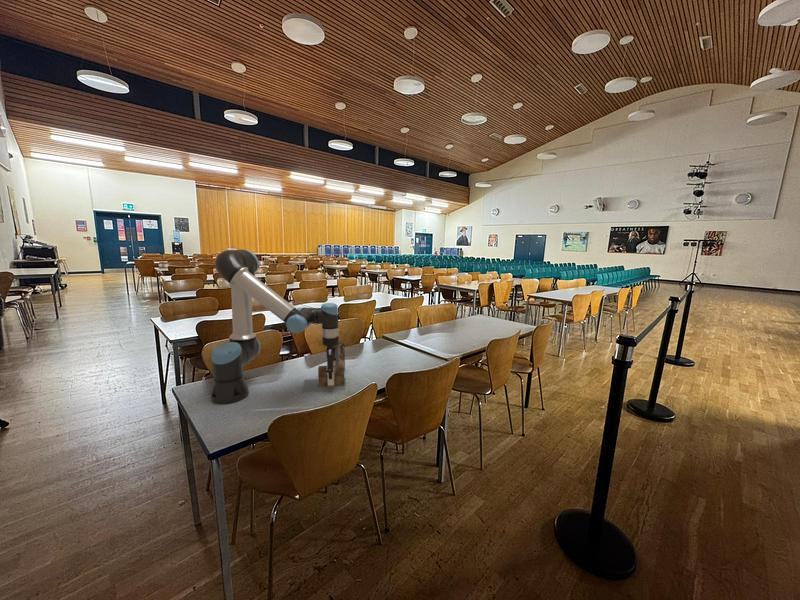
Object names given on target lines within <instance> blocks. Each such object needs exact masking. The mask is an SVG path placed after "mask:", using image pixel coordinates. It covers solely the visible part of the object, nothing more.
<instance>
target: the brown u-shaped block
mask: <svg viewBox="0 0 800 600" xmlns="http://www.w3.org/2000/svg"><path fill="white" fill-rule="evenodd" d="M317 369H318V370H317V372H318V374H317V376H318V379H319V386H328V376H327V373H326V371H327V365H319V366H318V368H317ZM345 378H346V377H345V370H344V365H336V374H335V386H337V385H344V384H345Z"/></svg>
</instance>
